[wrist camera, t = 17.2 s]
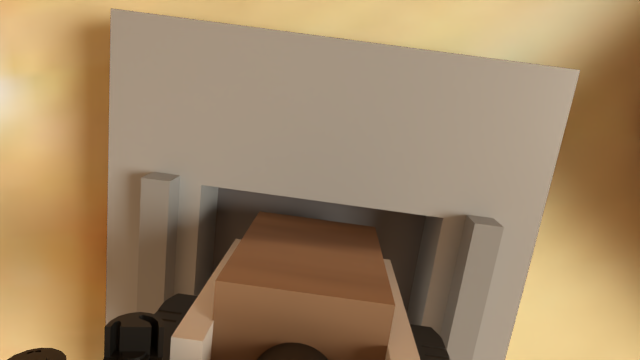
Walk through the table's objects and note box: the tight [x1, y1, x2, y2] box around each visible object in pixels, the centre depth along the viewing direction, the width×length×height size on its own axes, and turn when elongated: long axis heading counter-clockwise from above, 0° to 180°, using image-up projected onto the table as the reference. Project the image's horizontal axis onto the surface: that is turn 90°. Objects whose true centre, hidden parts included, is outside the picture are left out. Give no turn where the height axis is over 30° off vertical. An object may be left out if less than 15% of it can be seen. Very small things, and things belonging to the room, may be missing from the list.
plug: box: [210, 211, 395, 360], centre depth 13 cm, size 5×4×8 cm
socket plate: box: [106, 9, 580, 360], centre depth 18 cm, size 22×16×4 cm
